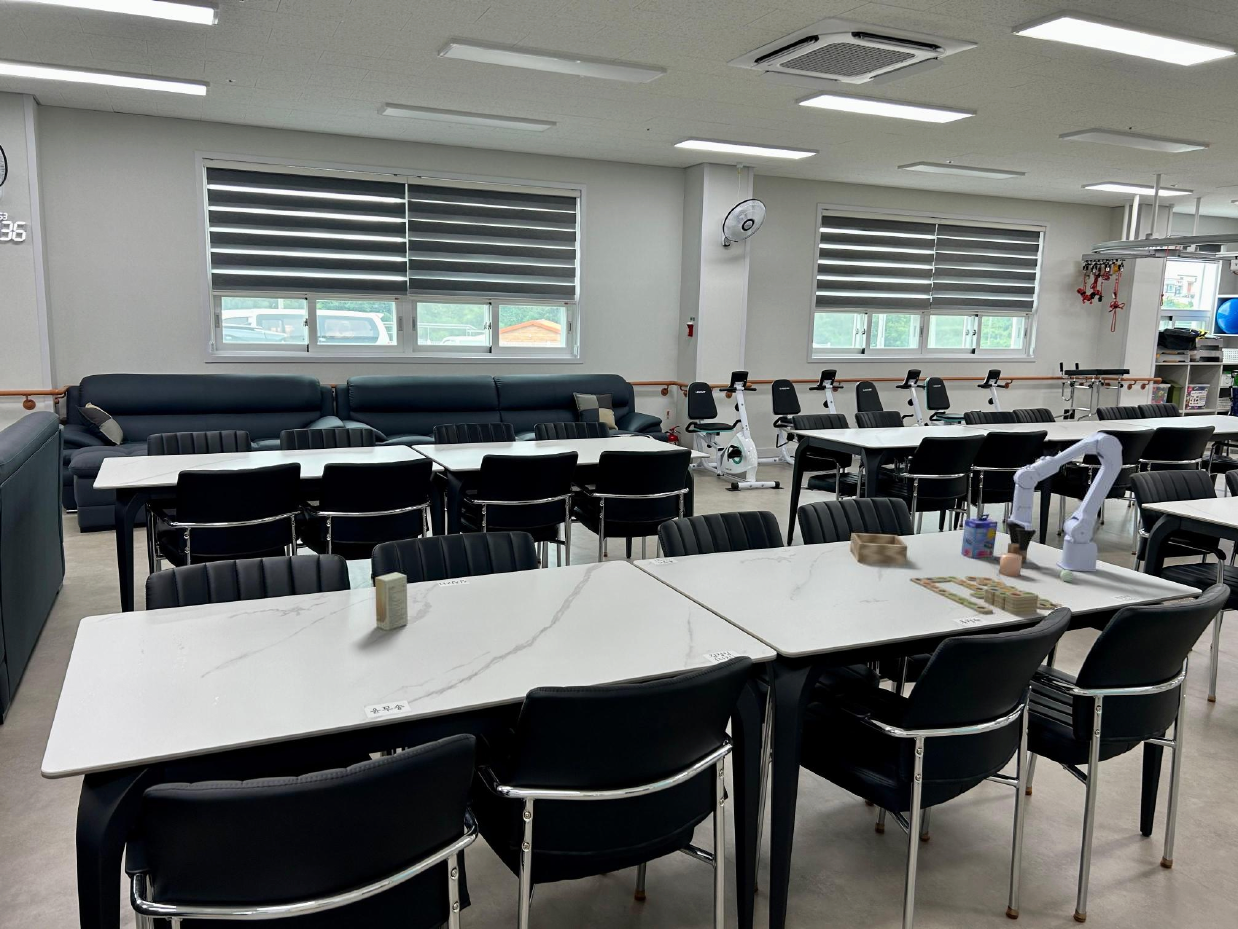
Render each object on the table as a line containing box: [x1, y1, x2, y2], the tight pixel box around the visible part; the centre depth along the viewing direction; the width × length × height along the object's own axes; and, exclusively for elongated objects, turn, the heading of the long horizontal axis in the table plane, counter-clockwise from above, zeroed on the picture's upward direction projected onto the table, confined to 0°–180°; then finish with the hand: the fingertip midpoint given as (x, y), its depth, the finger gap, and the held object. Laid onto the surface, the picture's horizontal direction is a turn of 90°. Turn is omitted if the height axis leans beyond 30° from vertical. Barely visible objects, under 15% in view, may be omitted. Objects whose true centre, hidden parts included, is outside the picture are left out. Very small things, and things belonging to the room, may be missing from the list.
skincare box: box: [374, 572, 409, 631], centre depth 208 cm, size 6×4×12 cm
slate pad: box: [993, 555, 1042, 570], centre depth 287 cm, size 11×11×1 cm
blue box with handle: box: [960, 513, 998, 559], centre depth 294 cm, size 10×6×14 cm, turn 114°
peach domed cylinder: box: [998, 552, 1022, 578], centre depth 273 cm, size 6×6×6 cm
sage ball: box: [1059, 569, 1074, 583], centre depth 267 cm, size 4×4×4 cm
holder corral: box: [849, 532, 908, 566], centre depth 288 cm, size 15×15×6 cm
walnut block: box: [1006, 542, 1028, 564], centre depth 286 cm, size 4×4×6 cm
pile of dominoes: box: [909, 575, 1064, 616], centre depth 250 cm, size 35×27×6 cm
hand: (1018, 547), depth 286 cm, fingers open, 7 cm apart
